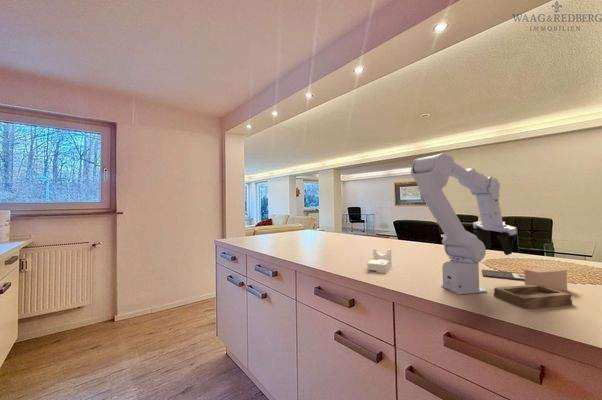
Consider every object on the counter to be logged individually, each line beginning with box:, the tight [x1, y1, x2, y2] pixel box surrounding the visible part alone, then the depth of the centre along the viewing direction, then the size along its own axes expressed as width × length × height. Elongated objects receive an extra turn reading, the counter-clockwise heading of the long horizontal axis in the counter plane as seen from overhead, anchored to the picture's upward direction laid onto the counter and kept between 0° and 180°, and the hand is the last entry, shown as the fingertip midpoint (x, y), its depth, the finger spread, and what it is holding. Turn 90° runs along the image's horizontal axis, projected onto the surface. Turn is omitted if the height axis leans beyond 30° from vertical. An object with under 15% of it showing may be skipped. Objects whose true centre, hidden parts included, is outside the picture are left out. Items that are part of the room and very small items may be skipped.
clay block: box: [523, 267, 568, 292], centre depth 79 cm, size 10×4×6 cm, turn 98°
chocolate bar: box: [481, 268, 525, 282], centre depth 92 cm, size 9×1×18 cm
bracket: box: [366, 247, 393, 274], centre depth 108 cm, size 13×7×8 cm, turn 151°
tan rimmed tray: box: [493, 284, 573, 310], centre depth 70 cm, size 14×9×2 cm, turn 98°
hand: (497, 251), depth 87 cm, fingers open, 7 cm apart
